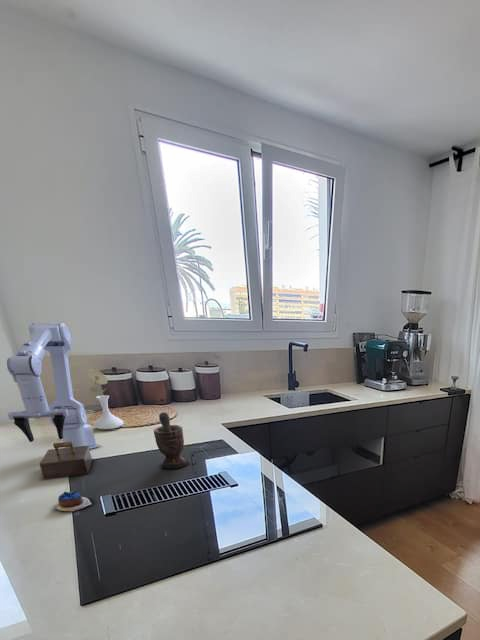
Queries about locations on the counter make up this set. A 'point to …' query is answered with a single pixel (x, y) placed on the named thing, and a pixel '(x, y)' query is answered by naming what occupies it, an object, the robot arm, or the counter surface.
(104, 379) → the flower in vase
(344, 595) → the counter surface
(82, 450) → the box lid
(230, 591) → the counter surface
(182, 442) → the mortar and pestle
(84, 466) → the storage box
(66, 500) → the dessert
